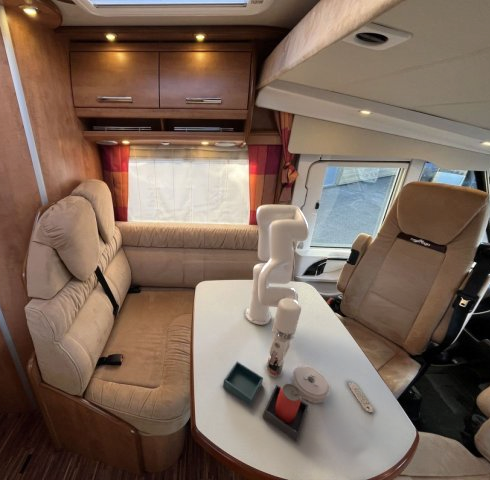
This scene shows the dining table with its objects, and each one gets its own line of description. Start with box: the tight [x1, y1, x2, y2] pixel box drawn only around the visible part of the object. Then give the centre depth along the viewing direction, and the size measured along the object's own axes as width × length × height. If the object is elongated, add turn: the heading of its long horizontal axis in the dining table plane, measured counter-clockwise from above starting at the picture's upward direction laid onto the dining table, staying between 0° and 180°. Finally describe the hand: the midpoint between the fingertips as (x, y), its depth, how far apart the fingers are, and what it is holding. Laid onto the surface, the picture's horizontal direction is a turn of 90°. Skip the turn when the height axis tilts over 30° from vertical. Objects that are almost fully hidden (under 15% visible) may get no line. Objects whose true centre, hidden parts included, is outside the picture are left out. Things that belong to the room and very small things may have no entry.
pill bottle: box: [266, 354, 285, 378], centre depth 93 cm, size 6×6×10 cm
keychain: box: [348, 382, 374, 413], centre depth 86 cm, size 10×1×3 cm
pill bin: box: [222, 361, 264, 407], centre depth 89 cm, size 10×11×4 cm
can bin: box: [262, 384, 309, 443], centre depth 80 cm, size 11×11×4 cm
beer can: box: [275, 383, 302, 423], centre depth 78 cm, size 7×7×12 cm
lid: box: [290, 365, 331, 404], centre depth 88 cm, size 13×13×5 cm
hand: (275, 362), depth 93 cm, fingers closed on pill bottle, 5 cm apart
